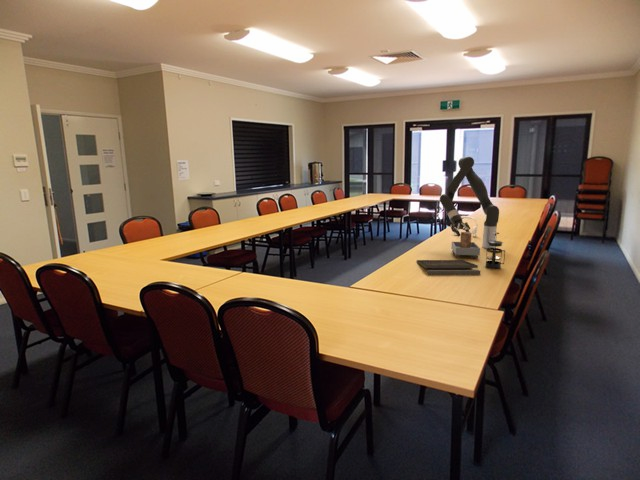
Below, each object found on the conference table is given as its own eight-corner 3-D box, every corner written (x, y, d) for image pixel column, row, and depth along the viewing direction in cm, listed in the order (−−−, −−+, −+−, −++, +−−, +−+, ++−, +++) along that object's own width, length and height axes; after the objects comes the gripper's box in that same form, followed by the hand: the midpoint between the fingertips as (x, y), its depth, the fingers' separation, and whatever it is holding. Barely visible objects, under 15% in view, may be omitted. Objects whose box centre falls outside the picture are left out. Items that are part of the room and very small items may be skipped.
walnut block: (465, 247, 296) (466, 231, 293) (470, 249, 291) (471, 232, 289) (460, 248, 294) (461, 232, 292) (464, 250, 290) (465, 233, 287)
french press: (483, 268, 262) (486, 233, 257) (484, 264, 270) (487, 230, 265) (503, 270, 257) (506, 234, 252) (503, 266, 265) (507, 231, 261)
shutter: (416, 270, 279) (428, 278, 248) (416, 260, 278) (428, 266, 247) (463, 267, 279) (481, 275, 247) (463, 257, 278) (480, 263, 247)
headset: (452, 235, 365) (453, 215, 362) (453, 234, 372) (455, 214, 368) (476, 237, 357) (477, 217, 353) (477, 235, 363) (478, 216, 359)
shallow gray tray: (473, 252, 302) (474, 242, 300) (479, 259, 283) (480, 248, 281) (451, 252, 305) (451, 241, 303) (455, 258, 285) (456, 247, 284)
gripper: (449, 214, 295) (459, 233, 287) (465, 213, 300) (475, 231, 292) (444, 221, 301) (453, 239, 293) (460, 219, 306) (469, 237, 298)
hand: (464, 235), depth 292 cm, fingers open, 8 cm apart
